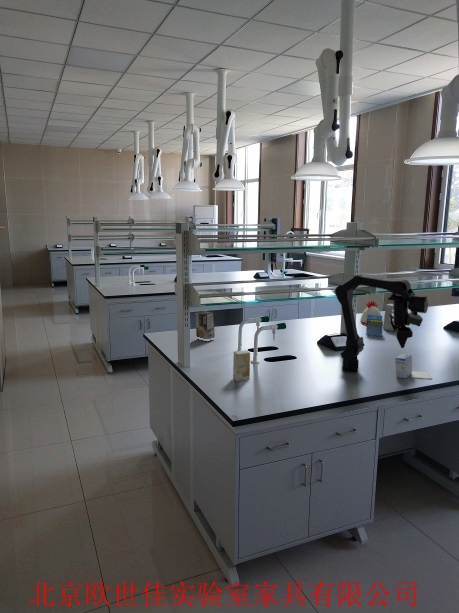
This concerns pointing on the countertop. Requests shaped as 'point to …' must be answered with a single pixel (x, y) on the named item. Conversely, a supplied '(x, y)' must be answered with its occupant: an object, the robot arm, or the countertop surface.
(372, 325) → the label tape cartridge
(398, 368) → the medicine box
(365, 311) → the kitchen timer
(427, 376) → the mat
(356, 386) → the countertop surface
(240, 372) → the skincare box
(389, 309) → the skincare box
